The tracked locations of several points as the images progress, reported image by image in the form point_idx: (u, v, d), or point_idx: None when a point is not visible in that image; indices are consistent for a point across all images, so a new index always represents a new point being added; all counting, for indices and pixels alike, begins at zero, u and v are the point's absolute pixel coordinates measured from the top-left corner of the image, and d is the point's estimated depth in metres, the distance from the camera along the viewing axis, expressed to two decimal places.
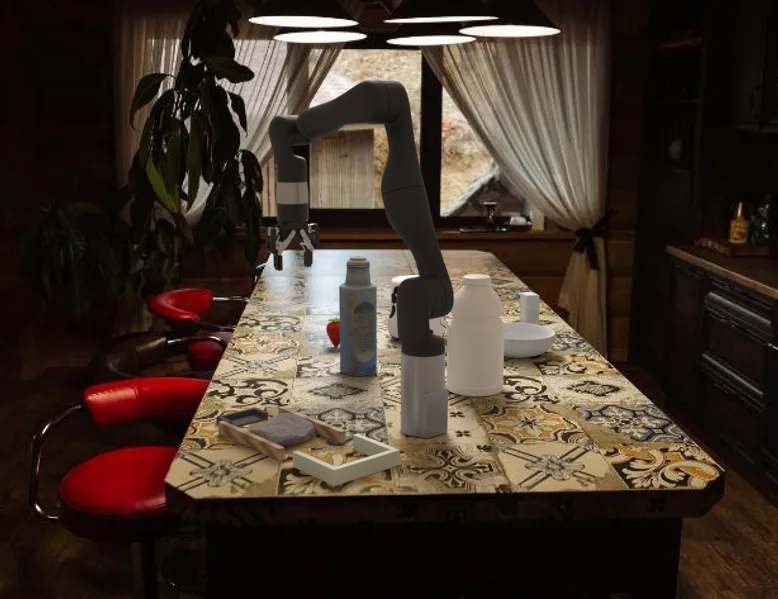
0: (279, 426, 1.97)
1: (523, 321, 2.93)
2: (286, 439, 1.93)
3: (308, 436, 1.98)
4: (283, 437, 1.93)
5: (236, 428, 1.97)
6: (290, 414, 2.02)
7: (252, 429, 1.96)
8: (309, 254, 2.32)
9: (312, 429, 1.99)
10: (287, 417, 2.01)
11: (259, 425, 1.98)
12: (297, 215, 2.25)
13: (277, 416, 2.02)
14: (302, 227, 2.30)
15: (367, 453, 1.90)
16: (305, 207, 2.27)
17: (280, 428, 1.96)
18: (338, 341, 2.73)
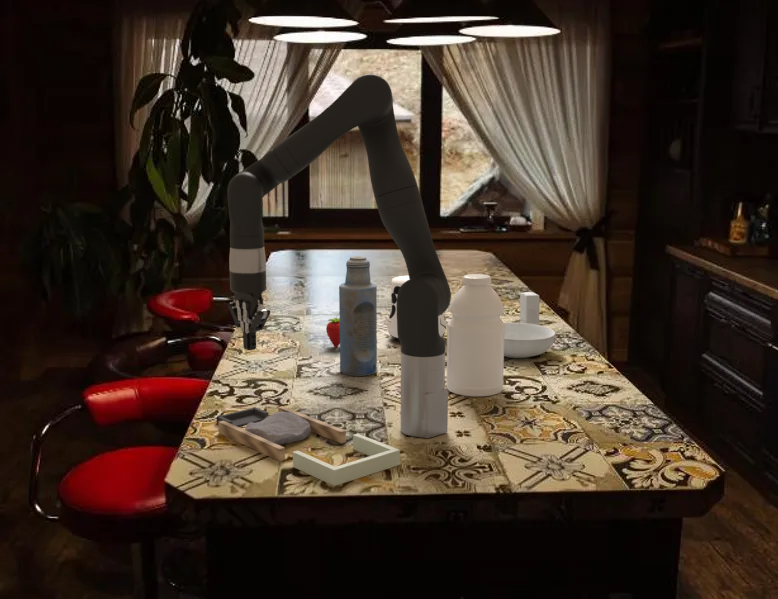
0: (275, 424, 1.98)
1: (523, 321, 2.93)
2: (282, 437, 1.94)
3: (304, 435, 1.99)
4: (279, 436, 1.94)
5: (236, 428, 1.97)
6: (286, 413, 2.03)
7: (249, 428, 1.97)
8: None
9: (308, 428, 2.00)
10: (283, 416, 2.01)
11: (255, 424, 1.98)
12: None
13: (273, 415, 2.03)
14: None
15: (367, 453, 1.90)
16: None
17: (276, 427, 1.97)
18: (338, 341, 2.73)
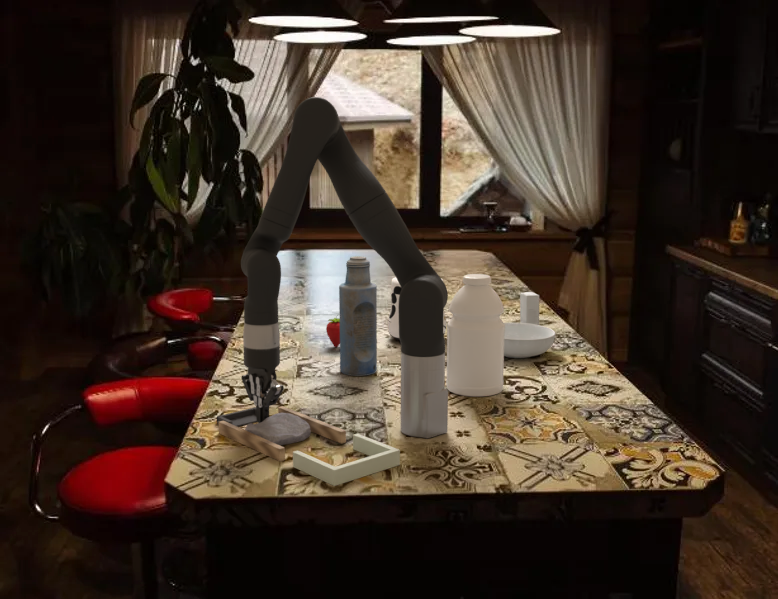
0: (275, 426, 1.97)
1: (523, 321, 2.93)
2: (281, 439, 1.94)
3: (304, 436, 1.98)
4: (278, 437, 1.93)
5: (236, 428, 1.97)
6: (287, 414, 2.02)
7: (248, 429, 1.97)
8: None
9: (308, 429, 1.99)
10: (284, 417, 2.01)
11: (255, 425, 1.98)
12: None
13: (274, 416, 2.02)
14: None
15: (367, 453, 1.90)
16: None
17: (276, 428, 1.96)
18: (338, 341, 2.73)
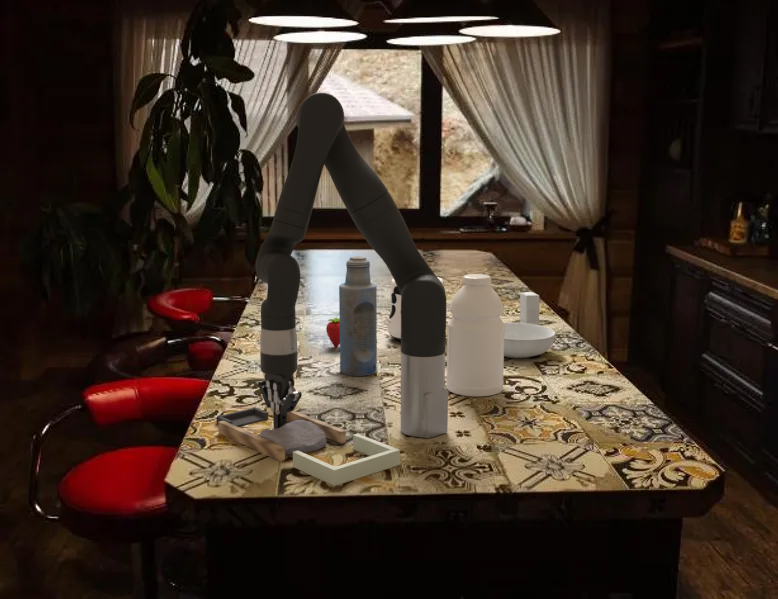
0: (289, 433, 1.93)
1: (523, 321, 2.93)
2: (292, 447, 1.89)
3: (318, 445, 1.93)
4: (289, 445, 1.88)
5: (236, 428, 1.97)
6: (304, 422, 1.97)
7: (262, 435, 1.93)
8: None
9: (323, 438, 1.93)
10: (300, 424, 1.96)
11: (270, 431, 1.94)
12: None
13: (291, 423, 1.98)
14: None
15: (367, 453, 1.90)
16: None
17: (289, 435, 1.92)
18: (338, 341, 2.73)
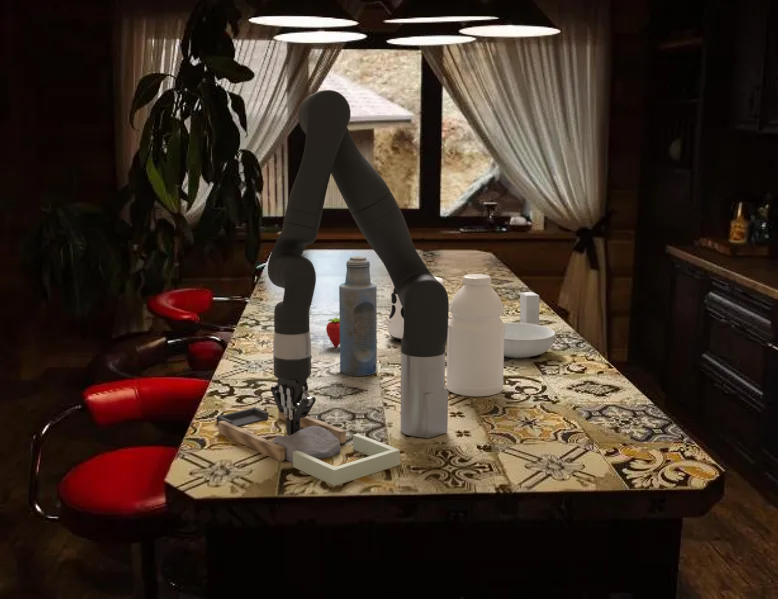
0: (302, 440, 1.89)
1: (523, 321, 2.93)
2: None
3: (332, 452, 1.89)
4: (303, 452, 1.85)
5: (236, 428, 1.97)
6: (318, 428, 1.94)
7: (275, 441, 1.90)
8: None
9: (337, 445, 1.90)
10: (314, 431, 1.93)
11: (283, 438, 1.90)
12: None
13: (305, 429, 1.94)
14: None
15: (367, 453, 1.90)
16: None
17: (303, 442, 1.88)
18: (338, 341, 2.73)
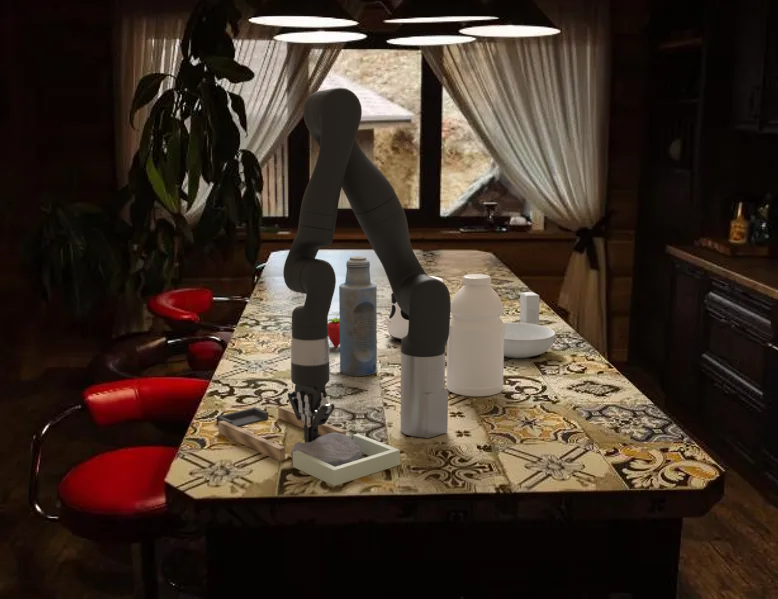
0: (323, 447, 1.85)
1: (523, 321, 2.93)
2: (326, 461, 1.81)
3: (353, 460, 1.85)
4: (323, 460, 1.81)
5: (236, 428, 1.97)
6: (339, 434, 1.89)
7: (295, 448, 1.85)
8: None
9: (359, 453, 1.85)
10: (335, 438, 1.88)
11: (303, 444, 1.86)
12: None
13: (325, 436, 1.90)
14: None
15: (367, 453, 1.90)
16: None
17: (323, 449, 1.84)
18: (338, 341, 2.73)
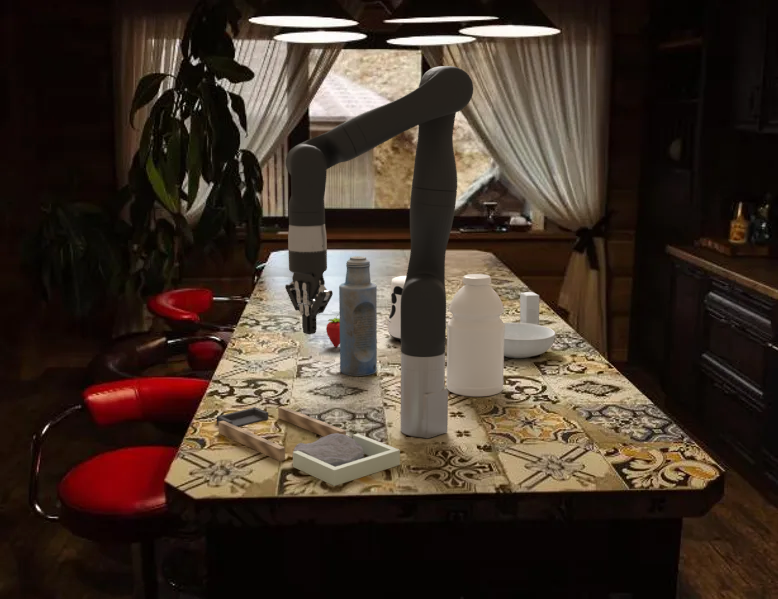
0: (325, 447, 1.85)
1: (523, 321, 2.93)
2: (328, 462, 1.80)
3: None
4: (324, 461, 1.80)
5: (236, 428, 1.97)
6: (341, 435, 1.89)
7: (297, 449, 1.85)
8: None
9: (360, 454, 1.85)
10: (337, 438, 1.88)
11: (305, 445, 1.86)
12: None
13: (328, 436, 1.89)
14: None
15: (367, 453, 1.90)
16: None
17: (325, 450, 1.83)
18: (338, 341, 2.73)
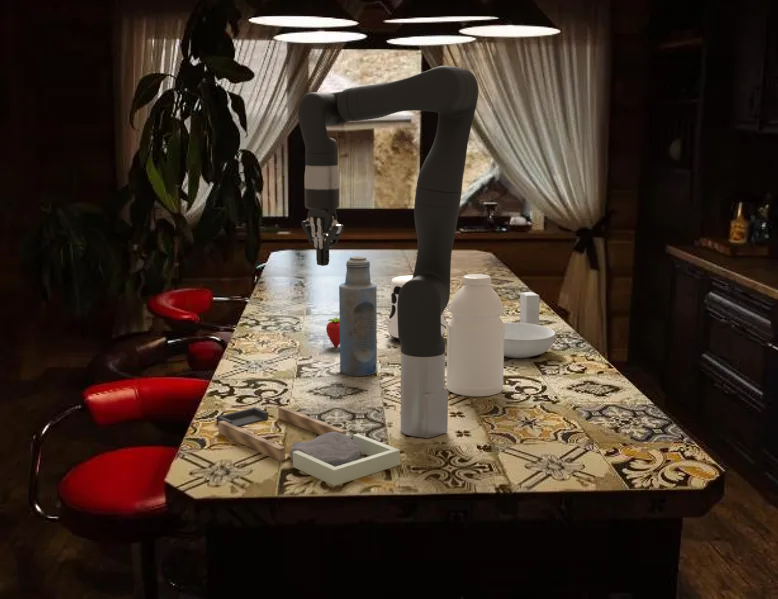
0: (322, 446, 1.85)
1: (523, 321, 2.93)
2: (325, 461, 1.81)
3: (352, 459, 1.85)
4: (321, 459, 1.81)
5: (236, 428, 1.97)
6: (338, 434, 1.90)
7: (294, 447, 1.86)
8: None
9: (357, 452, 1.86)
10: (334, 437, 1.89)
11: (302, 444, 1.87)
12: None
13: (324, 435, 1.90)
14: None
15: (367, 453, 1.90)
16: None
17: (322, 449, 1.84)
18: (338, 341, 2.73)
